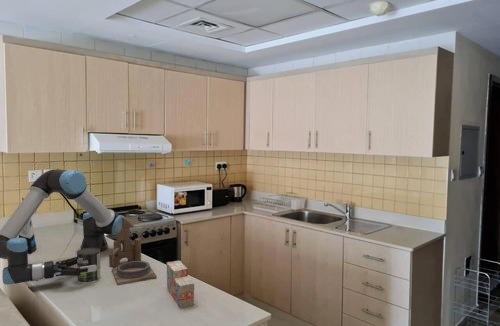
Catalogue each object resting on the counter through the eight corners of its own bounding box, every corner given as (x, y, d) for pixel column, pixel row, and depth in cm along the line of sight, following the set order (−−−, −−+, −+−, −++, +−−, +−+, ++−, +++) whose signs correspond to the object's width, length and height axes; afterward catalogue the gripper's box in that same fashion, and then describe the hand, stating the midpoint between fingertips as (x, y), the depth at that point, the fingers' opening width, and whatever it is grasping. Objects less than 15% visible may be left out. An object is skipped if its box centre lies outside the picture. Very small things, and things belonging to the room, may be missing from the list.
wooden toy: (113, 268, 191) (112, 221, 189) (109, 265, 196) (107, 218, 194) (142, 262, 200) (141, 216, 198) (137, 258, 206) (136, 214, 204)
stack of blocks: (194, 305, 150) (194, 275, 149) (179, 308, 148) (179, 278, 147) (180, 286, 169) (180, 259, 168) (166, 288, 167) (166, 261, 166)
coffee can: (89, 285, 170) (88, 255, 168) (72, 282, 173) (71, 252, 172) (105, 277, 179) (104, 248, 178) (88, 274, 183) (88, 246, 182)
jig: (111, 270, 187) (111, 262, 187) (147, 265, 196) (147, 257, 195) (117, 285, 170) (117, 276, 169) (156, 278, 178) (156, 269, 177)
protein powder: (21, 256, 210) (19, 203, 207) (15, 245, 228) (13, 198, 226) (40, 252, 216) (38, 202, 213) (33, 243, 234) (31, 196, 232)
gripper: (45, 269, 178) (92, 262, 188) (42, 288, 156) (96, 280, 166) (44, 254, 178) (92, 248, 187) (42, 271, 156) (96, 263, 165)
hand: (94, 263), depth 177 cm, fingers open, 13 cm apart
